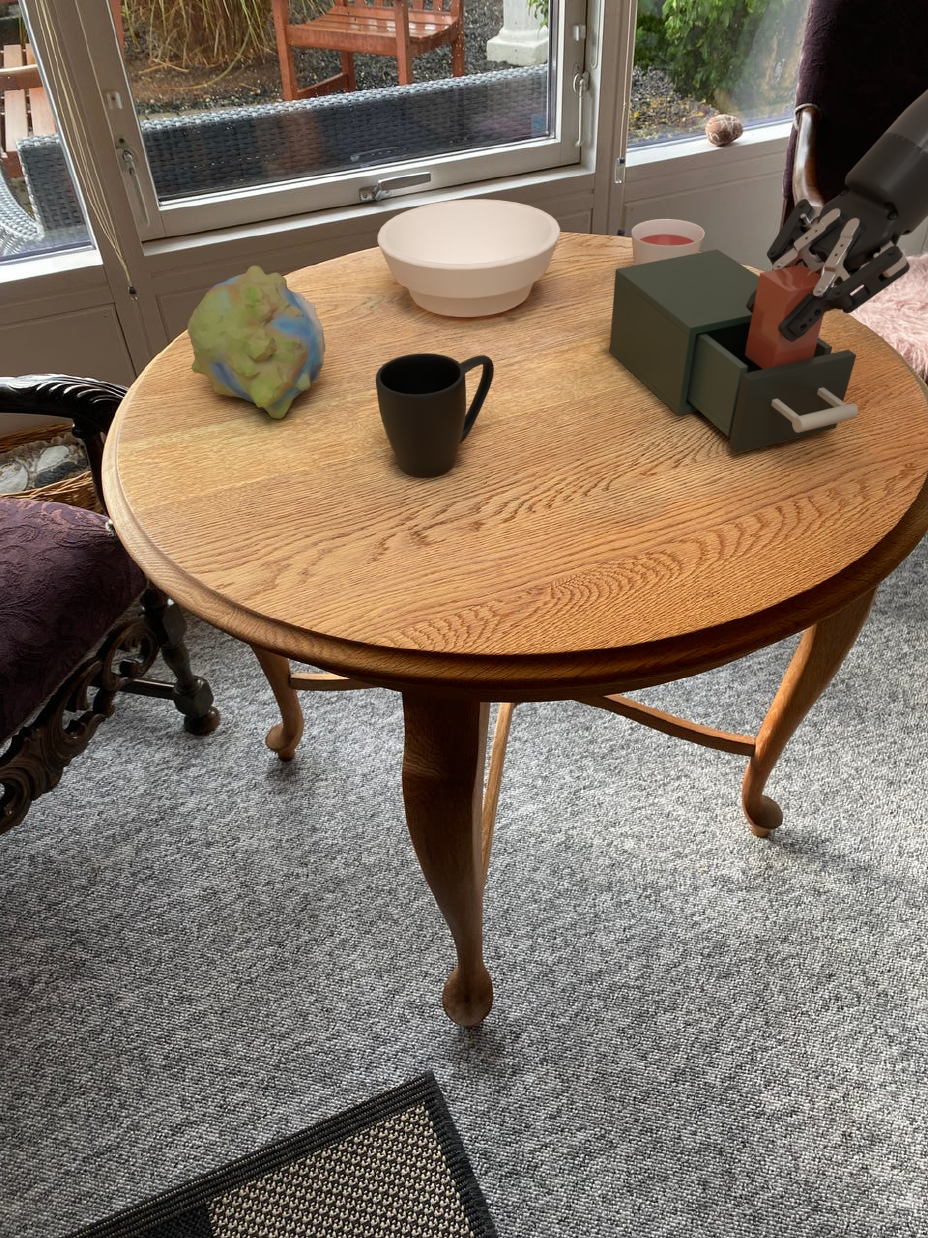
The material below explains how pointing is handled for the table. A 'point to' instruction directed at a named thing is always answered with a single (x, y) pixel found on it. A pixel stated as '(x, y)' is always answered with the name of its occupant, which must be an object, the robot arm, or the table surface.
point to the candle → (665, 240)
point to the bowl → (469, 254)
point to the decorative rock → (257, 340)
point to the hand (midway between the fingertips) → (768, 323)
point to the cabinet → (675, 317)
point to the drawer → (767, 390)
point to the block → (780, 317)
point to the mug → (429, 408)
